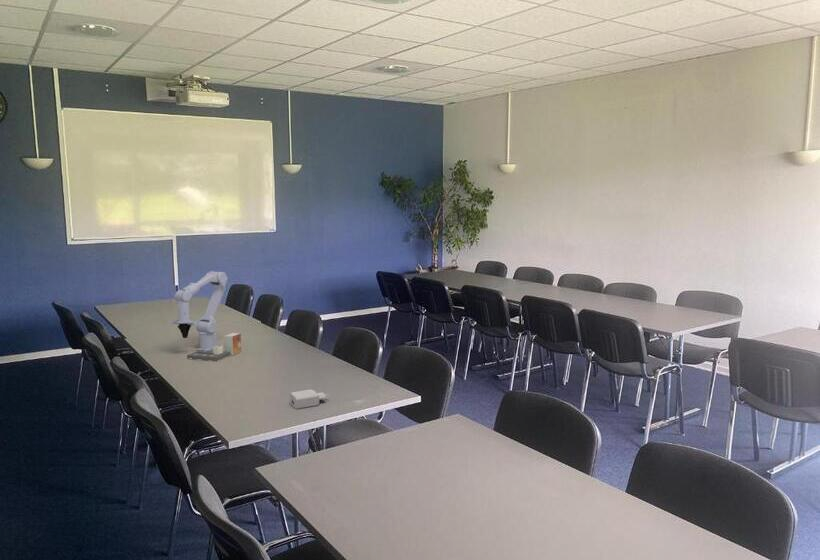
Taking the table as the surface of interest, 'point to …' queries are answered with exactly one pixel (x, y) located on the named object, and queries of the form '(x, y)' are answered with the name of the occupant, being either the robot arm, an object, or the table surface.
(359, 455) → the table surface
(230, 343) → the small box
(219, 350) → the fader
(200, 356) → the panel
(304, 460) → the table surface
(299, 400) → the charger
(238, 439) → the table surface
